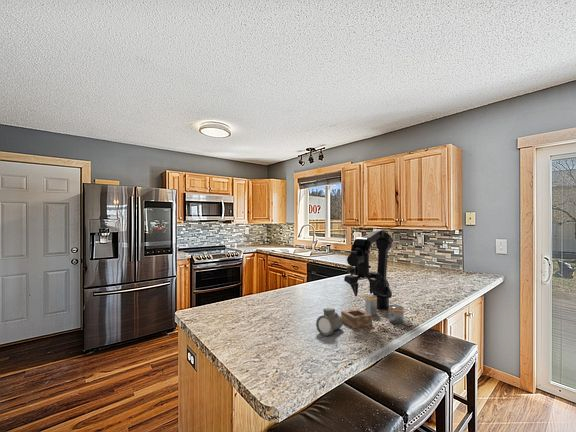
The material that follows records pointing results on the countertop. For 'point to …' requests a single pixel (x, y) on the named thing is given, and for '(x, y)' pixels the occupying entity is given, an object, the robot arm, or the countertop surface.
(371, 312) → the square bit
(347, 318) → the block
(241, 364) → the countertop surface
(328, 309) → the pipe fitting
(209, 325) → the countertop surface
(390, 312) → the cylinder
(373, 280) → the robot arm
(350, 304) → the countertop surface
